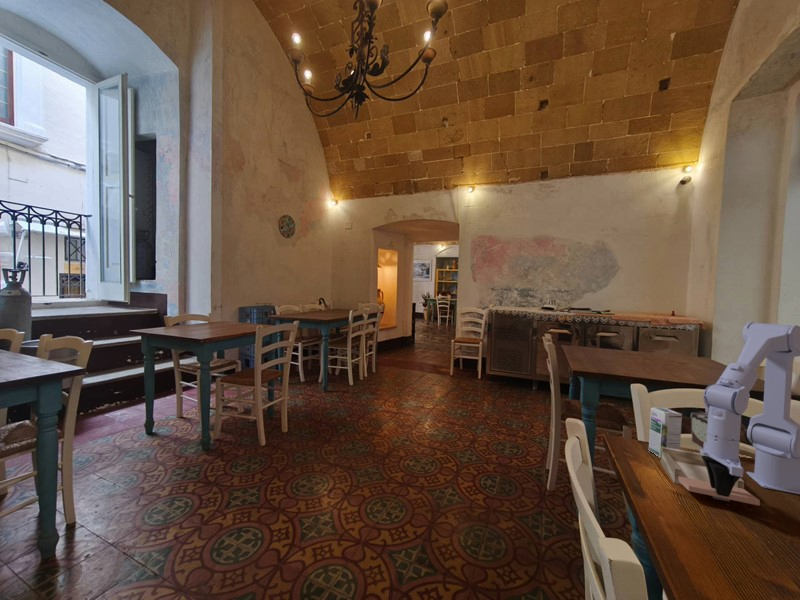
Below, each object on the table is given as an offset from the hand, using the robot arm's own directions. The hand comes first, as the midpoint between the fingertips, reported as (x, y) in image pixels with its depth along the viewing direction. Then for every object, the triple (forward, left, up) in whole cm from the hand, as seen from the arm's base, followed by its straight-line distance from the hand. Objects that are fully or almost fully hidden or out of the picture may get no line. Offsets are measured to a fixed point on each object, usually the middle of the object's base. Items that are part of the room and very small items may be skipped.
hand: (719, 491), depth 82 cm
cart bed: (0, -13, -3) cm, 13 cm away
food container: (-12, -39, -3) cm, 41 cm away
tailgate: (0, -6, -1) cm, 6 cm away
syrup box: (+4, -25, -3) cm, 25 cm away
